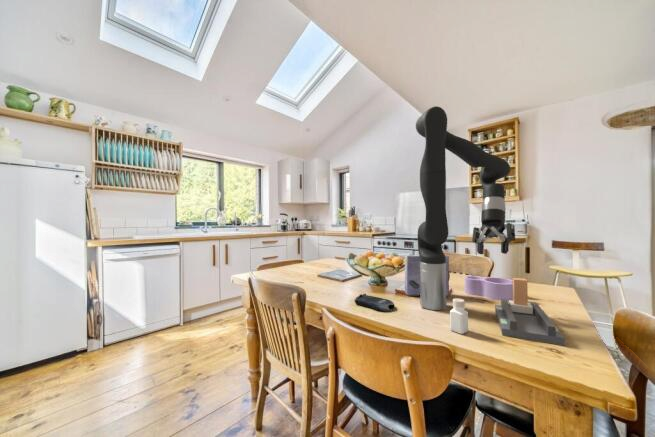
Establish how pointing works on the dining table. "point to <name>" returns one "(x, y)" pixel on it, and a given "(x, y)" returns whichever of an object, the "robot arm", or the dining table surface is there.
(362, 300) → the electronic device
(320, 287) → the dining table surface
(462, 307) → the salt shaker
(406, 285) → the cake pan box
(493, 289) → the lavender double ring holder
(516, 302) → the switch lever
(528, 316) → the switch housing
